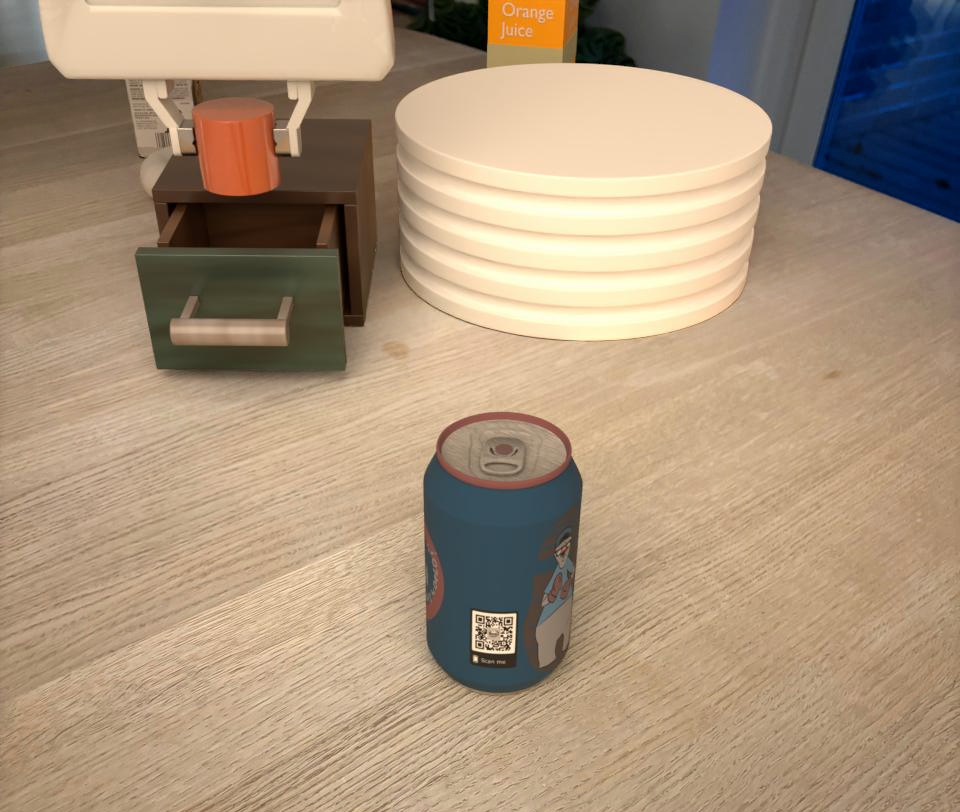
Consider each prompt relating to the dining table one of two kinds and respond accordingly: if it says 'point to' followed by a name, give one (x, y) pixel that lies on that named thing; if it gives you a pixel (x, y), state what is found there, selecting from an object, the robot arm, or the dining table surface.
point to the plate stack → (578, 198)
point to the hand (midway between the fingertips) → (238, 154)
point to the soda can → (500, 550)
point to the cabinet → (305, 193)
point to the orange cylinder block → (236, 146)
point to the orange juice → (531, 32)
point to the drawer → (247, 287)
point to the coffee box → (148, 122)
